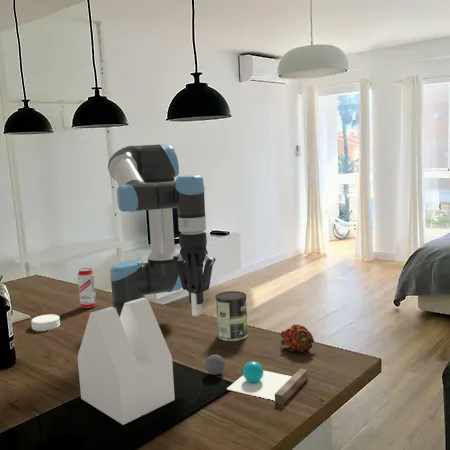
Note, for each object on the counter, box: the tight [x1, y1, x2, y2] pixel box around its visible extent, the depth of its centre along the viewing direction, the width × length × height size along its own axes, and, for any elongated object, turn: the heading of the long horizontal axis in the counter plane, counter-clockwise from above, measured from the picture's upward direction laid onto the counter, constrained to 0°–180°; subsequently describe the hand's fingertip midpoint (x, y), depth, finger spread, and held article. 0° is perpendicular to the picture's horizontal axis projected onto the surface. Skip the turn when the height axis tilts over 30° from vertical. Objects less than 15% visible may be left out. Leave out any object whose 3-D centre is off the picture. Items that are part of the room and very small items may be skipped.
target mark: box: [226, 369, 293, 402], centre depth 134 cm, size 14×14×1 cm
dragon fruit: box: [280, 324, 315, 353], centre depth 155 cm, size 8×8×12 cm
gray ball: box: [204, 354, 226, 376], centre depth 141 cm, size 6×6×6 cm
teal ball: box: [242, 360, 264, 383], centre depth 135 cm, size 6×6×6 cm
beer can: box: [77, 267, 97, 309], centre depth 208 cm, size 6×6×16 cm
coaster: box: [30, 313, 61, 332], centre depth 187 cm, size 10×10×4 cm
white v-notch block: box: [77, 297, 175, 426], centre depth 127 cm, size 19×15×25 cm
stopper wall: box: [274, 368, 308, 406], centre depth 129 cm, size 16×2×2 cm, turn 149°
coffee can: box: [214, 290, 249, 342], centre depth 169 cm, size 10×10×14 cm
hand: (197, 314), depth 142 cm, fingers closed
